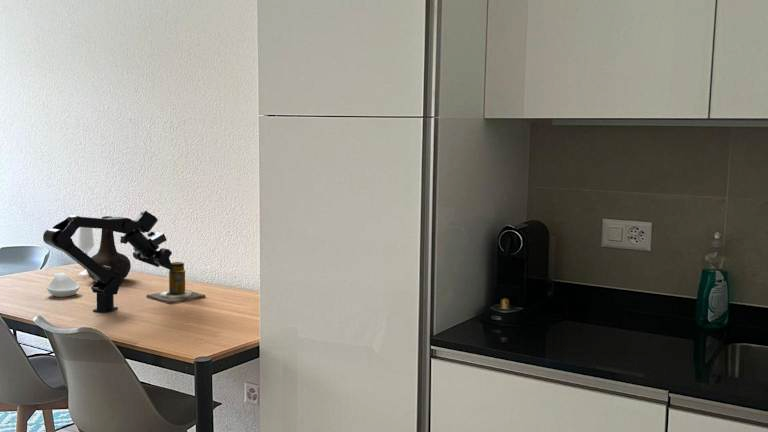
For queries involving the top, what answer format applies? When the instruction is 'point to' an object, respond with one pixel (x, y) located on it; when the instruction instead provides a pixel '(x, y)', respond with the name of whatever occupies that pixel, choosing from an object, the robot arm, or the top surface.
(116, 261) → the glass bottle
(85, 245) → the champagne flute
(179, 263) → the condiment
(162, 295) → the brown flat square slab
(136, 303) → the top surface
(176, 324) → the top surface
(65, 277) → the spoon rest
